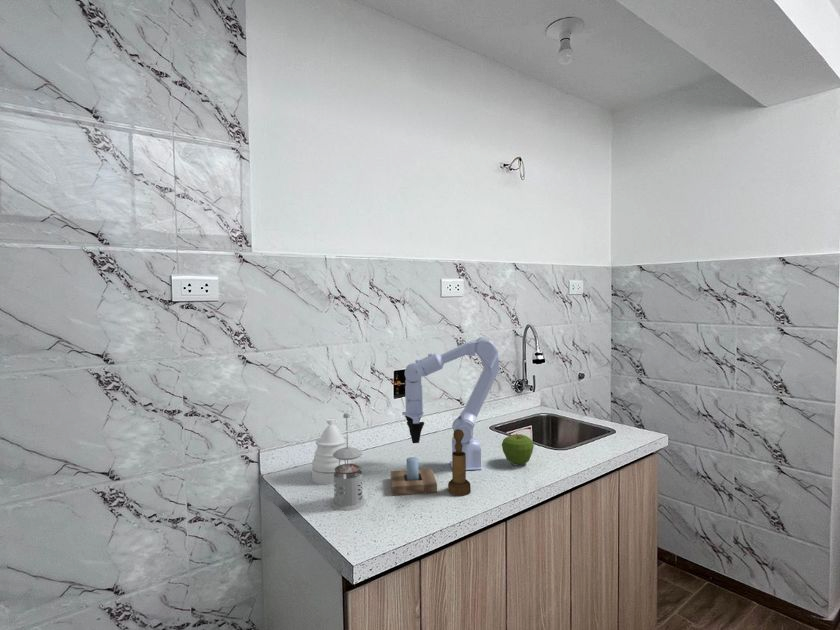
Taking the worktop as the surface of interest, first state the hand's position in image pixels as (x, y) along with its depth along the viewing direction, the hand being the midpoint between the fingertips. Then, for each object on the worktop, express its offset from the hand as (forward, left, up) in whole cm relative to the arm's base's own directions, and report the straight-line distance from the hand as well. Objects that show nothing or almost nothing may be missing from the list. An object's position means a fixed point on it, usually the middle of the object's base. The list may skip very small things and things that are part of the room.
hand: (414, 439), depth 146 cm
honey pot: (+27, +4, -10) cm, 29 cm away
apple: (-35, +2, -10) cm, 36 cm away
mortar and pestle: (-11, +21, -10) cm, 26 cm away
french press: (+21, +23, -10) cm, 33 cm away
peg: (+2, +15, -9) cm, 18 cm away
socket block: (+2, +15, -9) cm, 18 cm away
